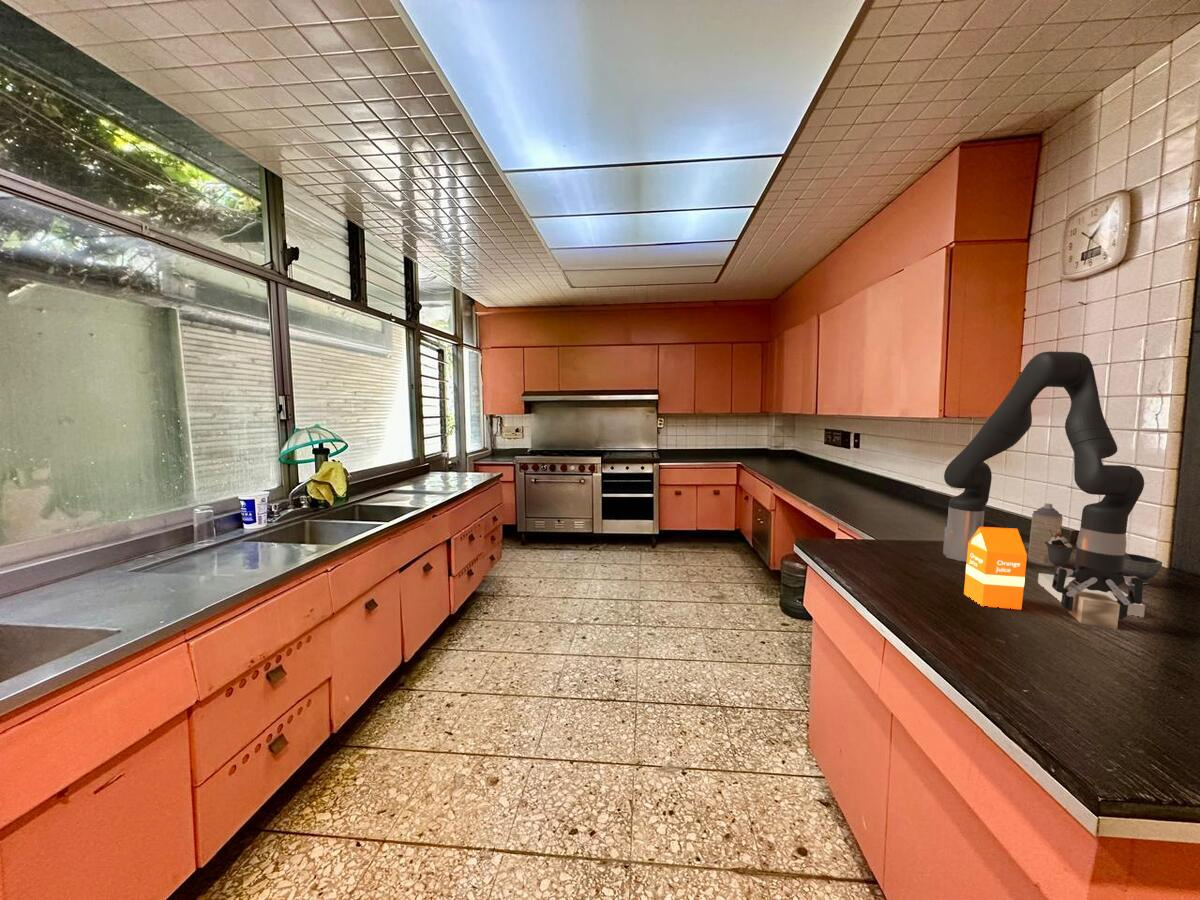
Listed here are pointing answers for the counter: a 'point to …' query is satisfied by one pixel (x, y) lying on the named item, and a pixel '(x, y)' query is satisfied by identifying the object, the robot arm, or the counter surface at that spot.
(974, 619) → the counter surface
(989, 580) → the orange juice
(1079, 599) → the birch block
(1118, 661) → the counter surface
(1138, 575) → the mortar and pestle
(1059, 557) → the sundae
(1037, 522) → the aerosol can
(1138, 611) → the cream board
